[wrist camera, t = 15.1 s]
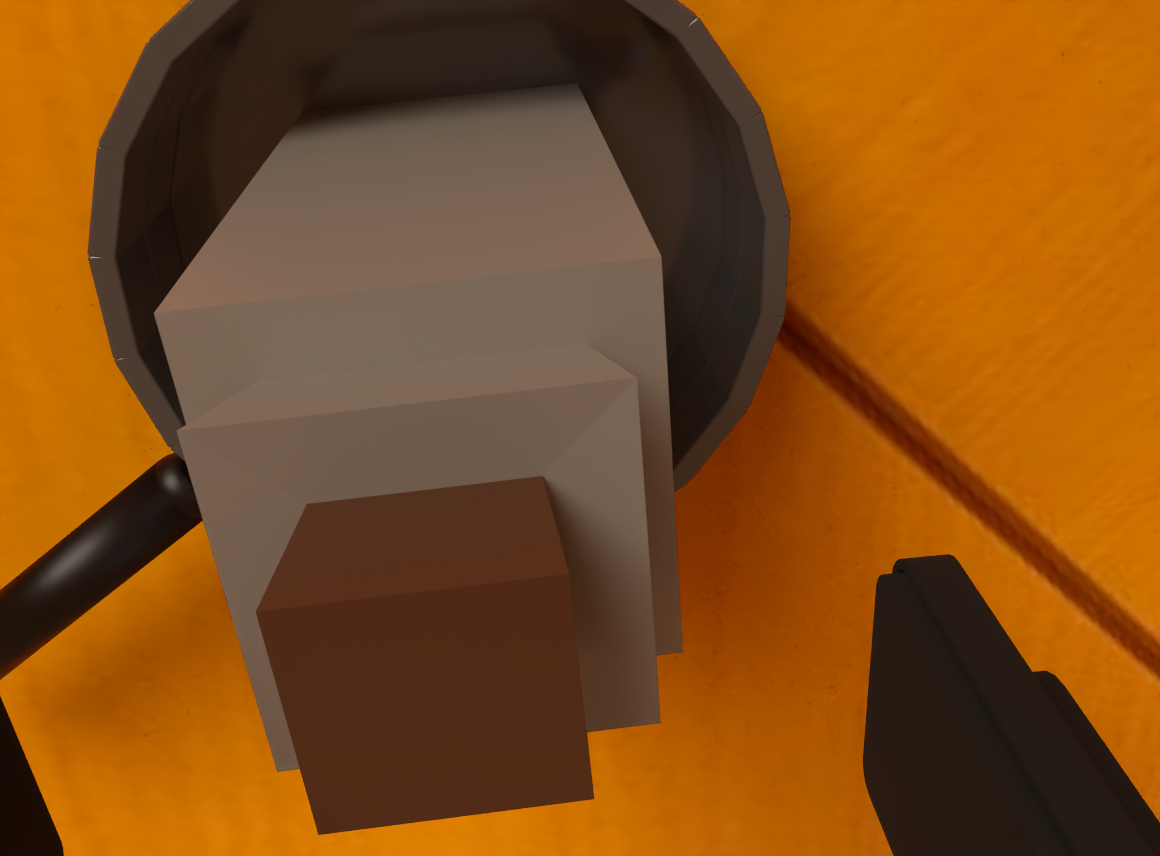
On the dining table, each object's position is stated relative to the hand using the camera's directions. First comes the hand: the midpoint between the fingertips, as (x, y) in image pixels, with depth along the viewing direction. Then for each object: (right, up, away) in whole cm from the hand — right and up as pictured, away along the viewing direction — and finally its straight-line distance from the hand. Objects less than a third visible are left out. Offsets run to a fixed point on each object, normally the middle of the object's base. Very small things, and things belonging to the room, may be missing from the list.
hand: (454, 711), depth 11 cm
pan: (-2, +8, +17) cm, 19 cm away
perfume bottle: (-2, +8, +16) cm, 19 cm away
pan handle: (-13, -1, +17) cm, 21 cm away
